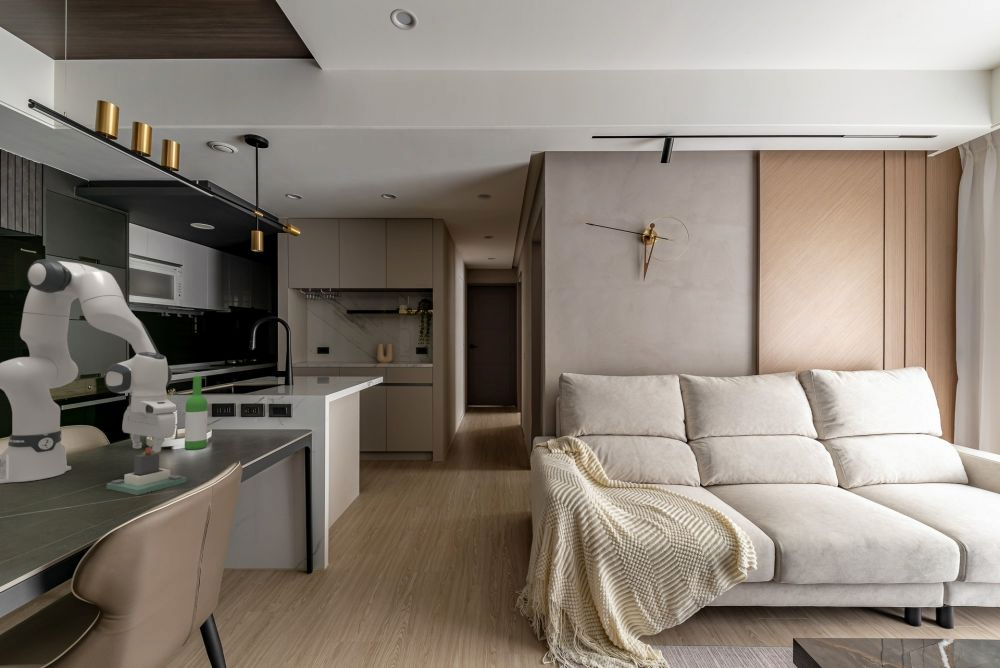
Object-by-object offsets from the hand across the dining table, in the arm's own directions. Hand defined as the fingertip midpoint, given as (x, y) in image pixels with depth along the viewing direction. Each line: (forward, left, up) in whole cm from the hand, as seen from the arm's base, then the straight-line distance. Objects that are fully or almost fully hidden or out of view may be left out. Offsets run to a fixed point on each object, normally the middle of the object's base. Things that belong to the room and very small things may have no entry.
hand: (146, 450), depth 144 cm
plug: (0, 0, -9) cm, 9 cm away
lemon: (-14, +9, -11) cm, 20 cm away
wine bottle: (-36, +40, -11) cm, 55 cm away
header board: (0, 0, -11) cm, 11 cm away
